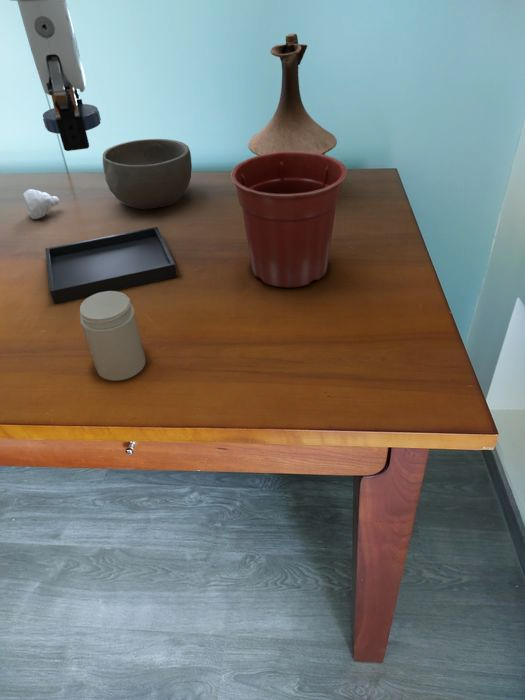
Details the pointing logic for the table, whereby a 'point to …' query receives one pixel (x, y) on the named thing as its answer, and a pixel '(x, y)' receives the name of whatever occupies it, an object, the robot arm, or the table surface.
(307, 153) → the flower pot
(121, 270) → the tray
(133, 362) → the jar
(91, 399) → the table surface
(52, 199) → the garlic bulb
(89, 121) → the jar lid
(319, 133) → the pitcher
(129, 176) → the bowl
